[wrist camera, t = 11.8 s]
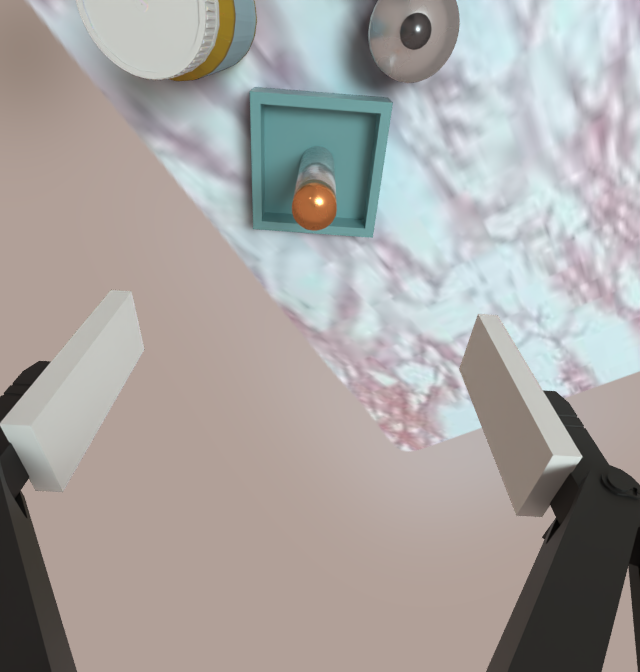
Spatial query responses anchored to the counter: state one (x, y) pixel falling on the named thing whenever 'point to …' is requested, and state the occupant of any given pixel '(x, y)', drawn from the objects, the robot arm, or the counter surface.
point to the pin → (315, 190)
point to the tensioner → (412, 37)
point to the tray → (326, 131)
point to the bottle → (171, 35)
